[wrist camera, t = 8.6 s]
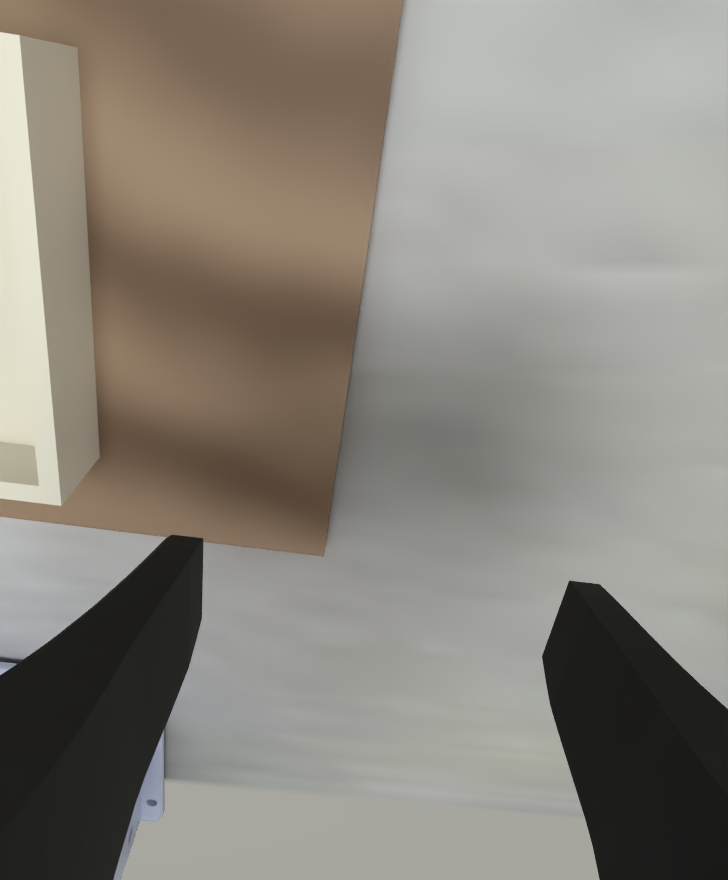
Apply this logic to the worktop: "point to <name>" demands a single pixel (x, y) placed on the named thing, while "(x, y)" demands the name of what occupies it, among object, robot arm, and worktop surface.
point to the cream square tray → (44, 277)
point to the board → (221, 254)
